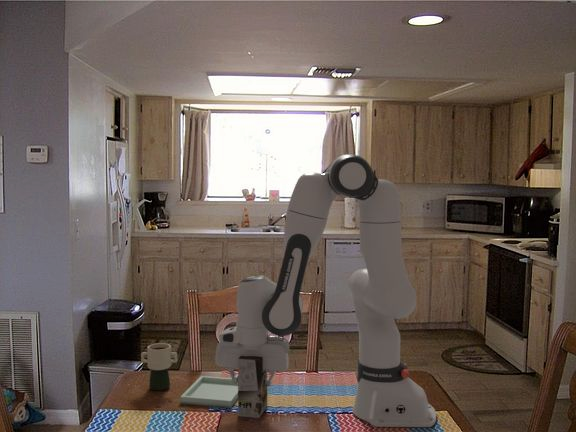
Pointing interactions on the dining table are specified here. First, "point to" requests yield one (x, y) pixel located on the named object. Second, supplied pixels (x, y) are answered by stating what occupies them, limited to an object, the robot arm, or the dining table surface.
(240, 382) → the coffee box
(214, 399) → the tray
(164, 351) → the character mug
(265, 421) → the dining table surface
